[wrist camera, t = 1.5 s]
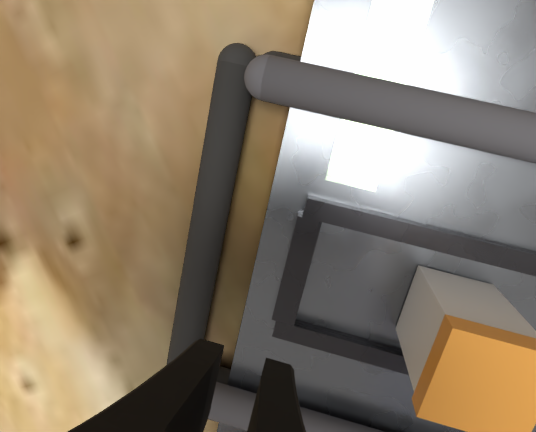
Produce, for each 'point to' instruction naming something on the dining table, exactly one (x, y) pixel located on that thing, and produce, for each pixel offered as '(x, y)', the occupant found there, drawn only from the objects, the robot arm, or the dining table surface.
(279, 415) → the robot arm
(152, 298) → the dining table surface
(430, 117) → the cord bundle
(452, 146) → the breaker panel
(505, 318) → the breaker lever
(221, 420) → the dark grey bar
